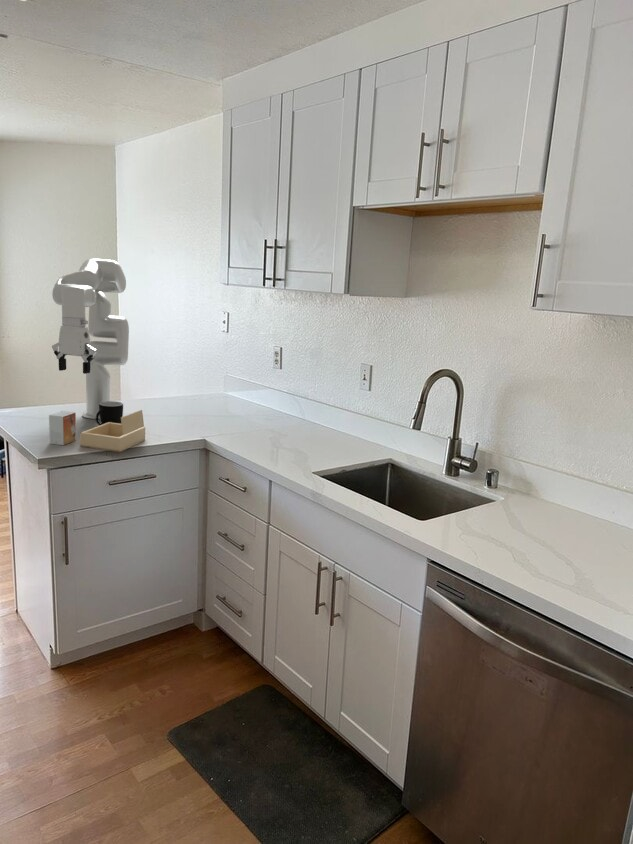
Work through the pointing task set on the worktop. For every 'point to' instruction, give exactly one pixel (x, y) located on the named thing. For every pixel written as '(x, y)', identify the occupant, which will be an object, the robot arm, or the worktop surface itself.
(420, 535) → the worktop surface
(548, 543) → the worktop surface
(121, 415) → the mug
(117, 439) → the carton
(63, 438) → the small box
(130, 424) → the flap
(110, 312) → the robot arm
